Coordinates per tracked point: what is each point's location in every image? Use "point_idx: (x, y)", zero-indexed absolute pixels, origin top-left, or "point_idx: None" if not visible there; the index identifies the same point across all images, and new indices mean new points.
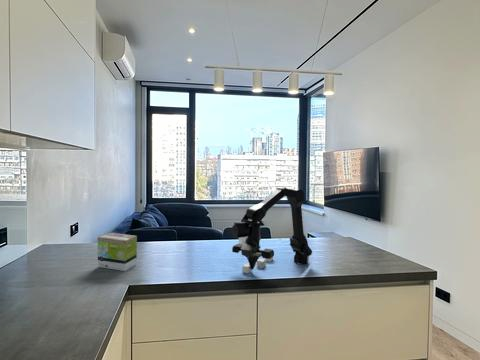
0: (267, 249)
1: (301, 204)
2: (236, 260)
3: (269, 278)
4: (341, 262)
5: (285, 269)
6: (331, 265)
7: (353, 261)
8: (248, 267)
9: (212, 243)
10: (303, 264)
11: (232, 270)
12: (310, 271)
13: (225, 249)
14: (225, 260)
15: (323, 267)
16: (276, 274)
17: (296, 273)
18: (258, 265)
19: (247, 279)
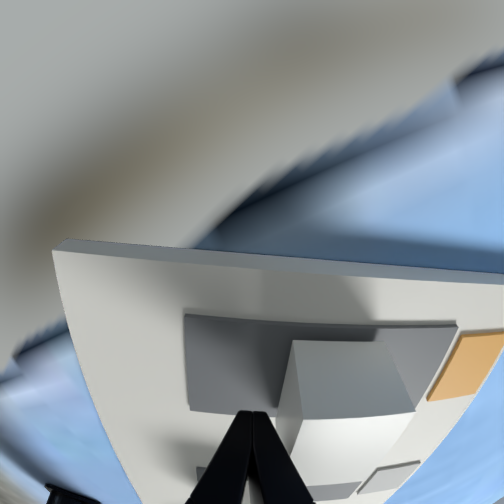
0: None
1: None
2: (429, 479)
3: (67, 350)
4: (23, 500)
5: (98, 479)
6: (20, 489)
7: (14, 499)
8: (302, 414)
9: (499, 494)
10: (56, 500)
11: None
12: (12, 458)
13: (466, 501)
14: (489, 447)
15: (19, 481)
16: (82, 425)
17: (24, 442)
18: (245, 493)
19: (265, 226)
